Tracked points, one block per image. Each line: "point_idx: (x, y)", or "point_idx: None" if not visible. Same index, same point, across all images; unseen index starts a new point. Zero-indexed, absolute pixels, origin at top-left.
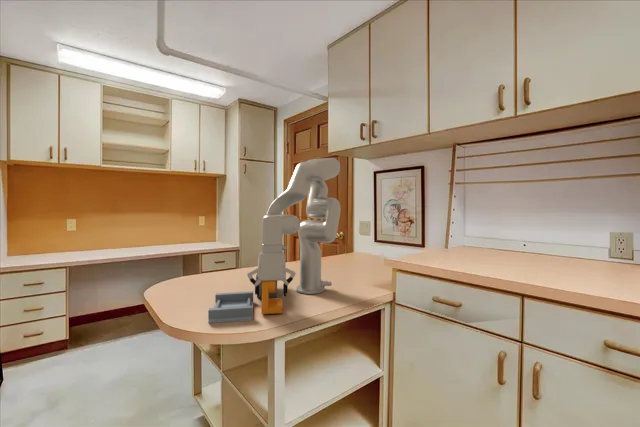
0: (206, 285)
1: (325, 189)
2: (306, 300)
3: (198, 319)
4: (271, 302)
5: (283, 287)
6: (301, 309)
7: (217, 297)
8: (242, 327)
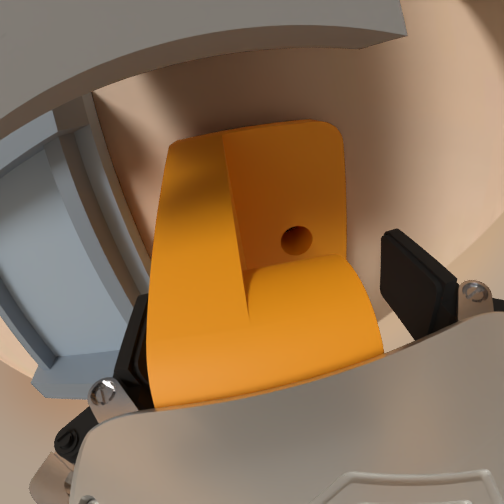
0: None
1: None
2: (451, 68)
3: (13, 335)
4: (265, 237)
5: (415, 289)
6: (424, 208)
7: None
8: None
